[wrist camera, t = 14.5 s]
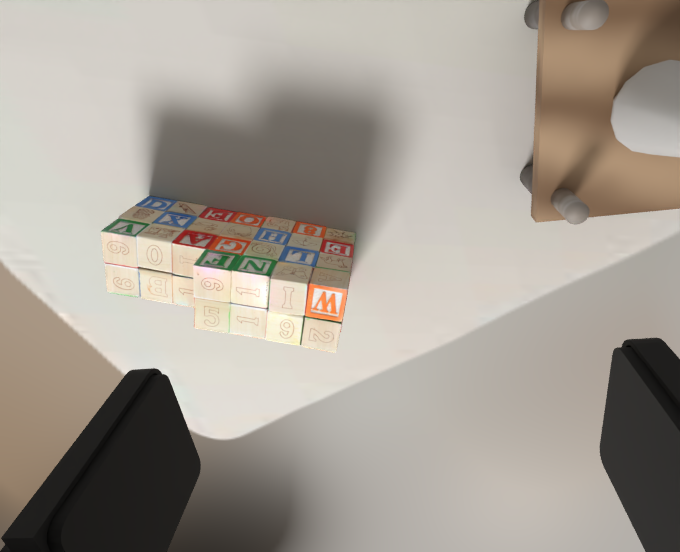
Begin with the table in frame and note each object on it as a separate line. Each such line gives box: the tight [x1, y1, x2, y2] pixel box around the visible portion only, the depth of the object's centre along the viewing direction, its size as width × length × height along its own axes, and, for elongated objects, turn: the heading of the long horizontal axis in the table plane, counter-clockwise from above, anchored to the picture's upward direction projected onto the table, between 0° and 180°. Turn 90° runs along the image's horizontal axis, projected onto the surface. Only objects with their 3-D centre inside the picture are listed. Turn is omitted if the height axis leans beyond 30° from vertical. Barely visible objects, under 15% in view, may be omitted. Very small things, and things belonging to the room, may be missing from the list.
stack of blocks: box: [101, 196, 356, 352], centre depth 44 cm, size 21×6×12 cm, turn 81°
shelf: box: [520, 0, 680, 224], centre depth 35 cm, size 16×14×11 cm
